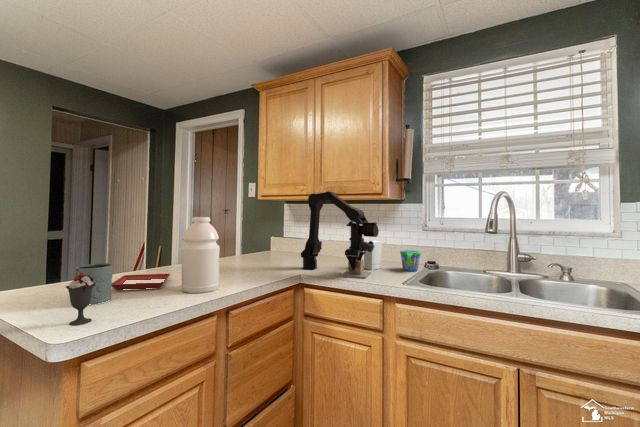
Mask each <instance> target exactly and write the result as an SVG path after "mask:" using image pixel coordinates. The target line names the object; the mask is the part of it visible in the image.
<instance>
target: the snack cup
mask: <svg viewBox="0 0 640 427" xmlns="http://www.w3.org/2000/svg"><path fill="white" fill-rule="evenodd" d="M399 254H400V258H401V265H402V269H403V271H406V272H417V271H418V270H419V264H420V257H421V255H422V252H421V251H420V250H414V249H403V250H399Z"/></svg>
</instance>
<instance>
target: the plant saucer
mask: <svg viewBox="0 0 640 427" xmlns="http://www.w3.org/2000/svg"><path fill="white" fill-rule="evenodd" d="M170 276H171V273H151V274H150V273H149V274H145V273H144V274H124V275H122V276H121V277H119V278H117V280H115V281H113V282H112V286H111V288H113V289H114V290H115V291H117V290H123V289H146V288H160V287H163V285H164V284H165V282H166V281H167V280H168V279H169V277H170ZM151 279H165V280H164V282H161V283H136V284H123V283H124V282H125V281H126V280H151ZM160 289H161V288H160ZM146 290H147V289H146Z"/></svg>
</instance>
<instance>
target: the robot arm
mask: <svg viewBox="0 0 640 427" xmlns="http://www.w3.org/2000/svg"><path fill="white" fill-rule="evenodd" d="M307 201H308V202H307V204H308V207H309V210H310V215H309V216H310V217H309V230H308V231H309V232H308V239H307V240H306V242H305V246H304V249H303V250H302V251H301V253H300V257H301V258H302V267H301V269H302V270H309V271H313V270H315V269H318V260H317V257H318V256H319V253H321V250H322V249H323V248H322V245H323V242H322V241H320V240H319V230H320V218H321V216H320V214H321V210H322V208H323V206H324V203H325V202H328V201H329V202H331V204H333V205H334V206H335V207H337V208H339V209H340V210H341V212H343V213H344V215H345V216H346V217H347V218H348V220H350V221H349V222H348V223H347V224H346V227H350V237H349V239H348V240H349V242H350V245H349V246H348V247H349V248H346V249H345V250H344V256H345V257H346V258H347V262H349V263H350V265H351V268H352V270H355V266H356V260H362V258H363V257H364V254H365V253H366V251H368V252H372V251H373V249H374V245H373V242H372V241H373V240H368V241H369V242H367V241H365V238H364V237H367V238H369V237H370V238H377V237H378V235H379V226H378V225H377V222H375V221H374V222H370V221H368V219H367V218H366V216H365V212H364V211H363V210H361V209H360V208H357V207H355V206H352V205H350V204H349V203H348V202H347V201H345V199H342V198H341V197H339V196H338V195H337V194H336V193H334V192H333V191H328V190H327V191H325V192H320V193H311V194H309V195H308V197H307Z"/></svg>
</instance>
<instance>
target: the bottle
mask: <svg viewBox="0 0 640 427" xmlns="http://www.w3.org/2000/svg"><path fill="white" fill-rule="evenodd" d="M191 222H192V224H190V225H189V226H188V228H187V229H186V230H185V231H184V234H183V236H182V240H183V241H184V242H185V243H184V245H183V246H181V285H180V288H181V291H183V293H187V292H188V294H203V293H208V292H214V291H216V290H218V289H219V288H220V251H221V250H220V248H221V247H220V245H219V244H218V242H217V241H218V240H219V239H220V237H219V234H218V232H217V230H216V228H215V227H214V226H213V225H212V224H211V223H210V222H211V217H209V216H193V217H192V218H191Z"/></svg>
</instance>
